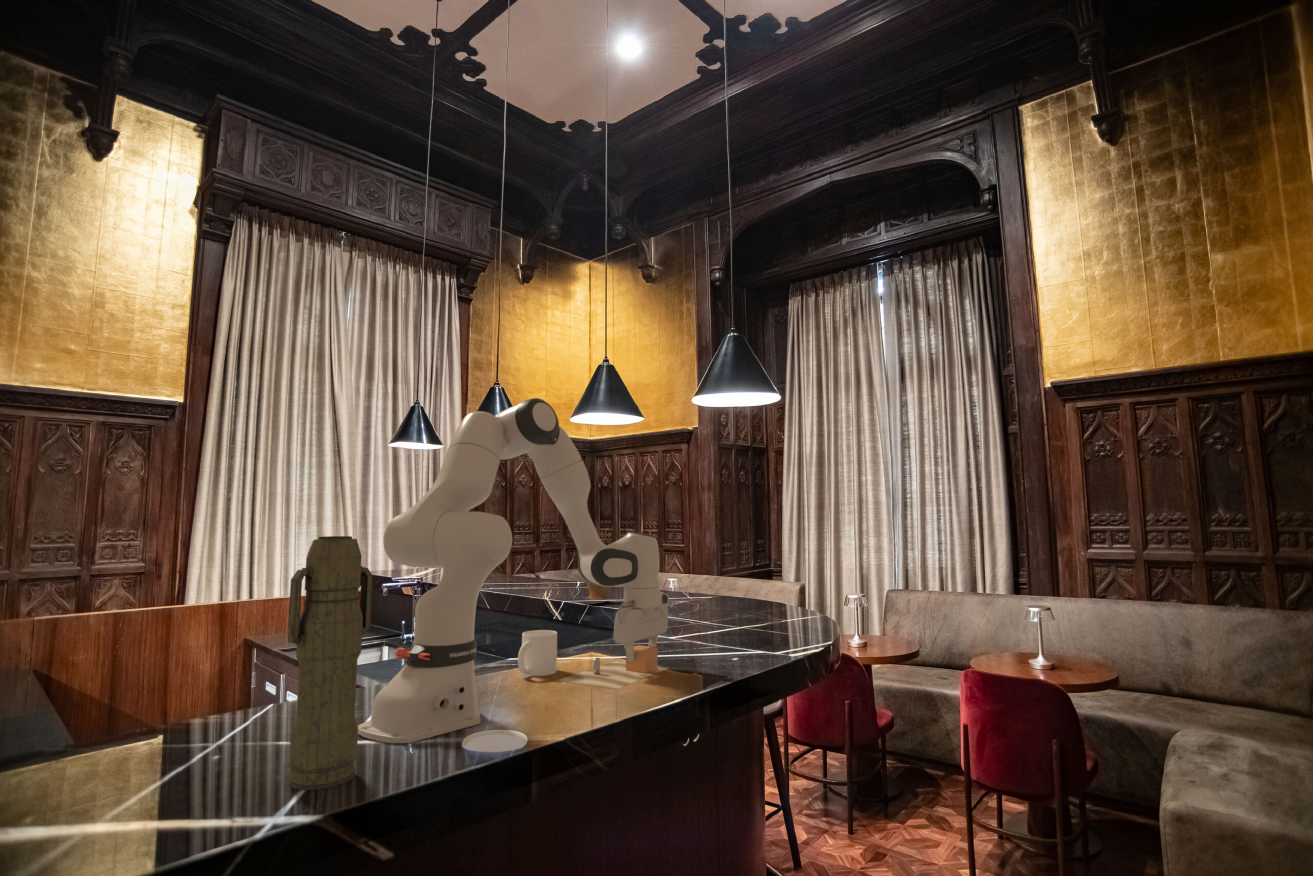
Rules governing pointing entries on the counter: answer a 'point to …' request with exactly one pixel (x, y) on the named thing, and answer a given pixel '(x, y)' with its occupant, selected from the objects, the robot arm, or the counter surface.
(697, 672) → the counter surface
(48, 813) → the counter surface
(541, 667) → the mug
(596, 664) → the pins
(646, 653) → the tan wooden cube
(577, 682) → the board
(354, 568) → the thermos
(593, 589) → the stone cup
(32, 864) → the counter surface
